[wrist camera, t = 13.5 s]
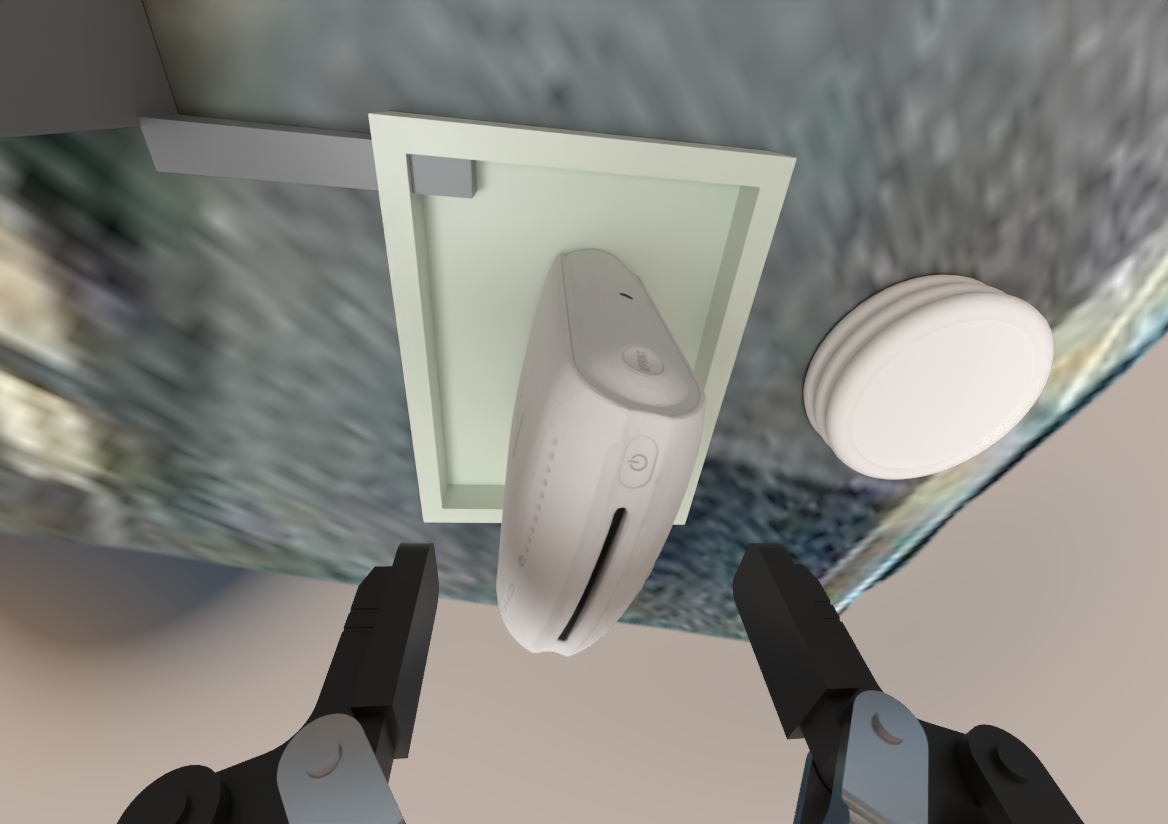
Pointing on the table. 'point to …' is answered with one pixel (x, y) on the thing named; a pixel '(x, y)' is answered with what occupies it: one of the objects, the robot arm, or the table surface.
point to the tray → (524, 257)
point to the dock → (169, 105)
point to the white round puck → (927, 375)
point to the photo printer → (592, 454)
